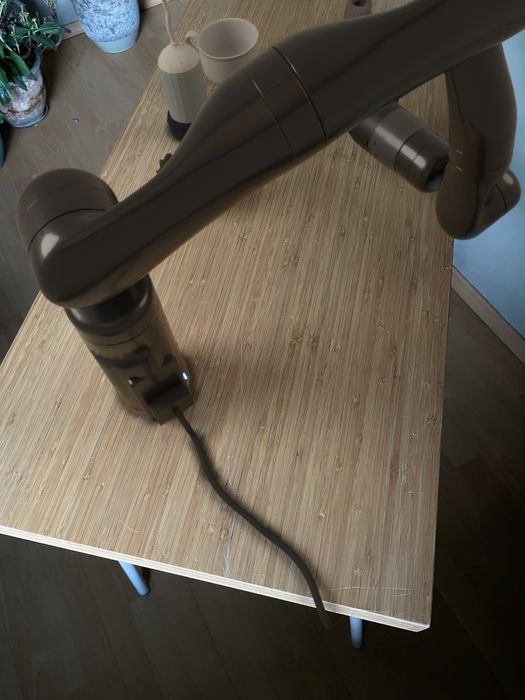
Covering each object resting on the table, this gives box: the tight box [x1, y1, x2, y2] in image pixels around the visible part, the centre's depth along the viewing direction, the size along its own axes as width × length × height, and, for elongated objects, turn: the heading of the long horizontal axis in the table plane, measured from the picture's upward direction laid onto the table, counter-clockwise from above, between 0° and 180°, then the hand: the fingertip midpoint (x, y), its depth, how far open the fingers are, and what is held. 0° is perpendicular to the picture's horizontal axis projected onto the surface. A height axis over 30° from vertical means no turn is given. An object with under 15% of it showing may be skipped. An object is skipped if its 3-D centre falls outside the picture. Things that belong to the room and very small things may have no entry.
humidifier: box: [157, 0, 209, 142], centre depth 92 cm, size 8×8×25 cm
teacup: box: [184, 17, 261, 86], centre depth 105 cm, size 14×11×8 cm
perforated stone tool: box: [342, 0, 373, 20], centre depth 107 cm, size 15×5×7 cm, turn 168°
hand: (321, 80), depth 91 cm, fingers open, 8 cm apart
